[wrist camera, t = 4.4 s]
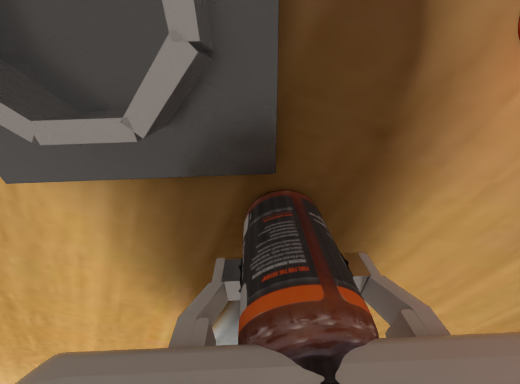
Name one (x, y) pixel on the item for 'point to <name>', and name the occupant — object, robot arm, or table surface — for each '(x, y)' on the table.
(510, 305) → the table surface
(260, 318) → the supplement bottle
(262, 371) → the robot arm
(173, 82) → the ring collar
